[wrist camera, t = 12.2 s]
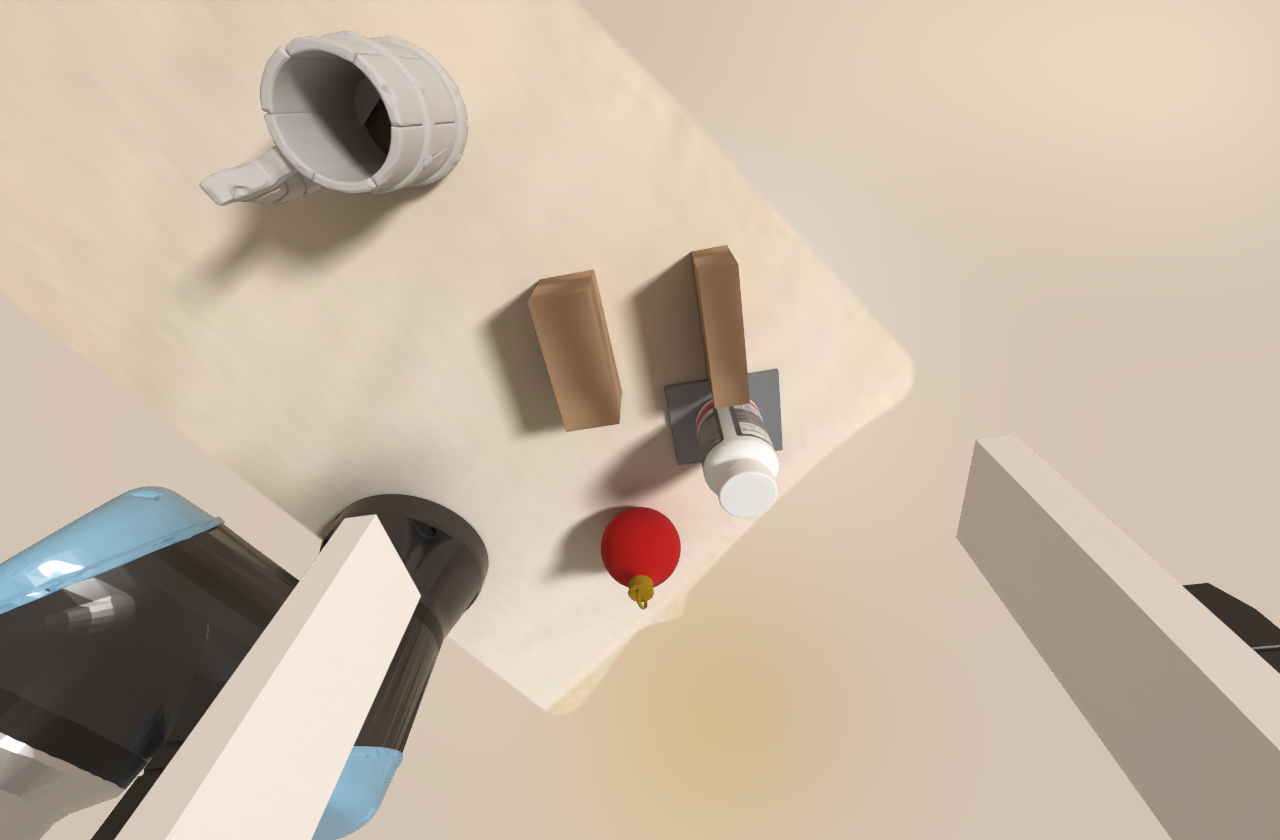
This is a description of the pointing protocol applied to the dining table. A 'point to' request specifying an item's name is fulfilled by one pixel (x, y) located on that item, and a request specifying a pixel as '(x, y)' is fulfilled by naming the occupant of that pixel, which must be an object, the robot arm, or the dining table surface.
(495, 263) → the dining table surface
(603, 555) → the christmas ornament
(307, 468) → the dining table surface
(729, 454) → the pill bottle
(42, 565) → the robot arm
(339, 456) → the dining table surface
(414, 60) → the mug
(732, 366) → the block
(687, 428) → the pad
